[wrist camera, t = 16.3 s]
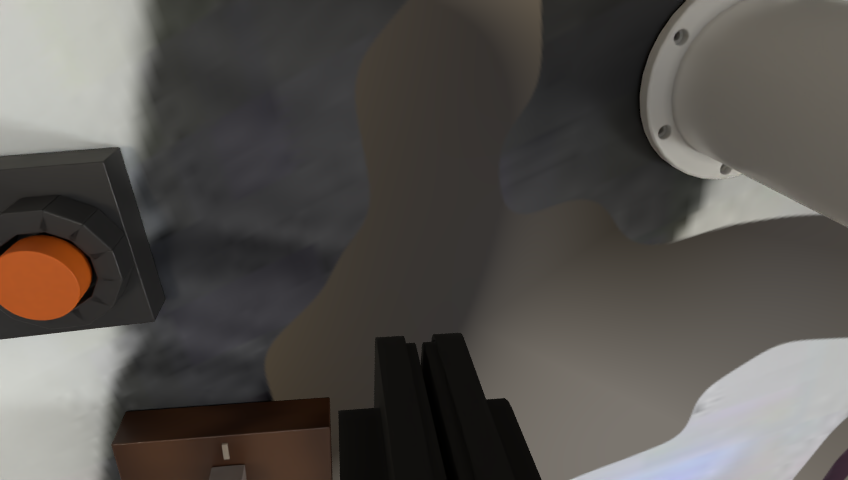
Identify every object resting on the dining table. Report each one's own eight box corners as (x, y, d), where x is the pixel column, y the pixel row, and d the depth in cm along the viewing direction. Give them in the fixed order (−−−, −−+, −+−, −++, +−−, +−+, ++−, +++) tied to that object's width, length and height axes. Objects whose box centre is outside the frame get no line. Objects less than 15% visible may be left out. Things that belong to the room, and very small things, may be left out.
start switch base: (119, 146, 30) (88, 175, 26) (165, 299, 34) (144, 342, 31) (-145, 167, 28) (-221, 200, 24) (-60, 323, 33) (-112, 373, 29)
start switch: (78, 230, 27) (63, 246, 26) (102, 297, 29) (90, 315, 28) (-8, 238, 27) (-28, 255, 25) (22, 306, 29) (5, 325, 27)
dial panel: (329, 396, 40) (329, 429, 37) (333, 498, 45) (333, 533, 42) (125, 411, 38) (109, 446, 35) (152, 516, 43) (140, 554, 40)
